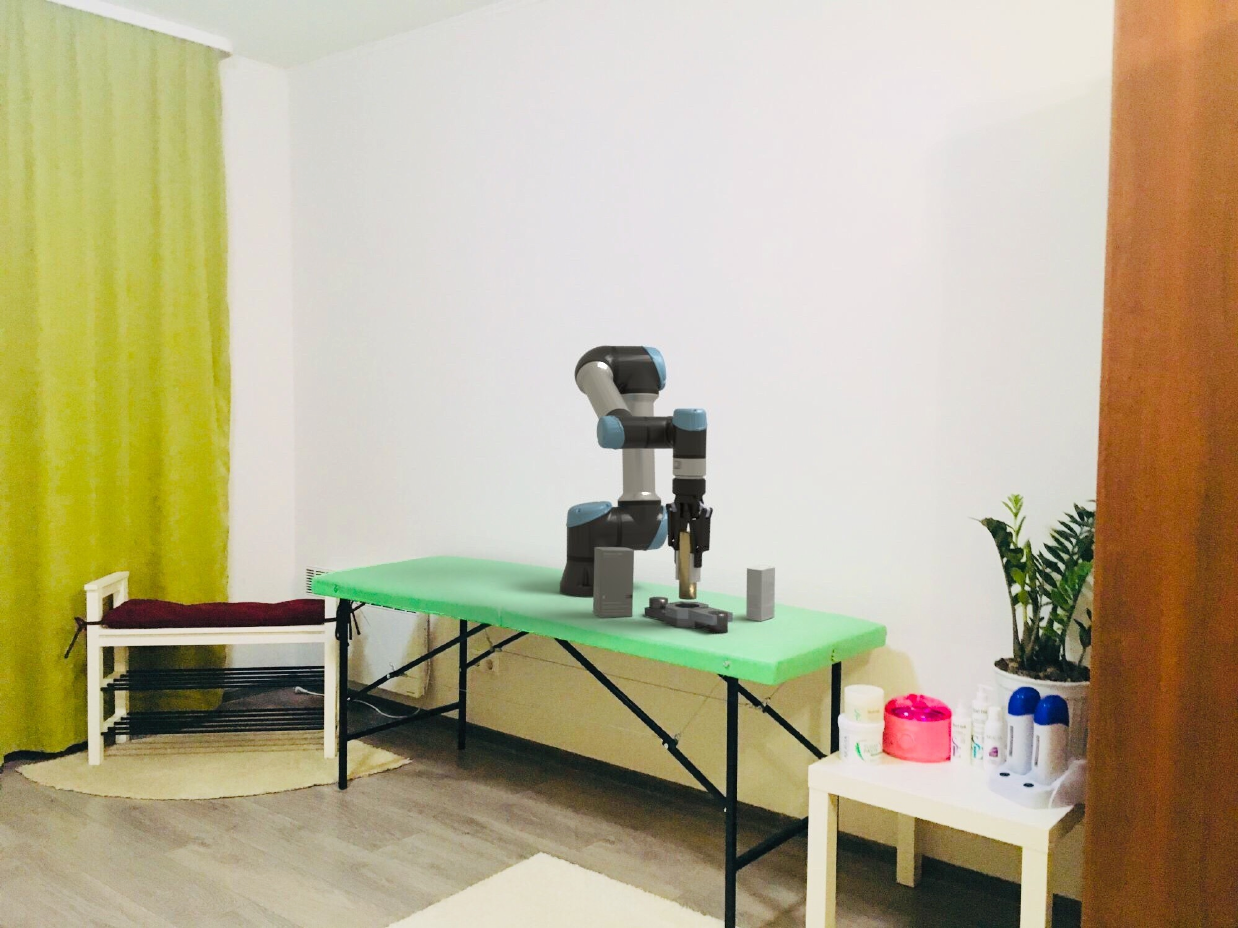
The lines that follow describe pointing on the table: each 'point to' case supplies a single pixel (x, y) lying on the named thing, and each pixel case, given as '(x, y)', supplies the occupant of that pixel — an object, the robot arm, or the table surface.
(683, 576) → the brass pin
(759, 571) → the skincare box
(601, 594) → the skincare box
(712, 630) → the grey socket base
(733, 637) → the table surface
